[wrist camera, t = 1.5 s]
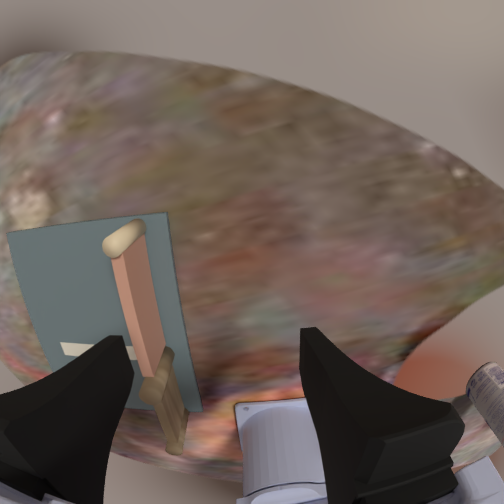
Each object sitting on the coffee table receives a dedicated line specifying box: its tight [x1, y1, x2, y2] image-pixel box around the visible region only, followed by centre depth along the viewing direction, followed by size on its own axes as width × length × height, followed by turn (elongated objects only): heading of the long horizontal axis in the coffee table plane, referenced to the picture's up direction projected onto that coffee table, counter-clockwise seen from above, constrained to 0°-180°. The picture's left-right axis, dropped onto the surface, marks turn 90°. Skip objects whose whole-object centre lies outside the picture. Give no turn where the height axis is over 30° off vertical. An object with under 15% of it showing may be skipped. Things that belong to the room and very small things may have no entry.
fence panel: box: [102, 218, 166, 377], centre depth 18 cm, size 10×1×4 cm, turn 3°
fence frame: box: [139, 346, 189, 456], centre depth 21 cm, size 2×8×5 cm, turn 4°
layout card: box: [6, 212, 203, 412], centre depth 22 cm, size 15×18×1 cm
